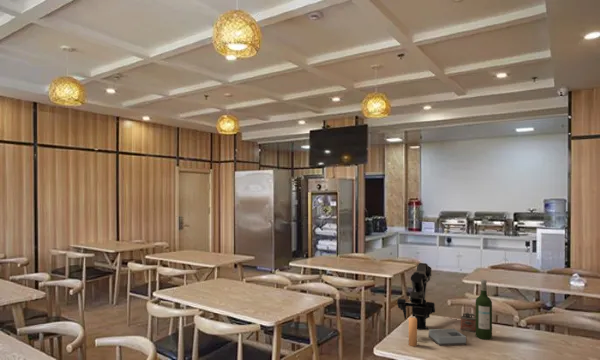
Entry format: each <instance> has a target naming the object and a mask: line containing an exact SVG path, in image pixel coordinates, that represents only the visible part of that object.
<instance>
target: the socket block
mask: <svg viewBox="0 0 600 360" xmlns="http://www.w3.org/2000/svg"><path fill="white" fill-rule="evenodd" d="M428 338H429V339H431V340H432V341H433V342H434V343H436V344H437V345H438V346H464V345H465V346H466V345H467V336H466V335H465V334H463V333H461V332H460V331H459V330H457V329H455V328H434V329H433V328H432V329H429V328H428Z"/></svg>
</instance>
